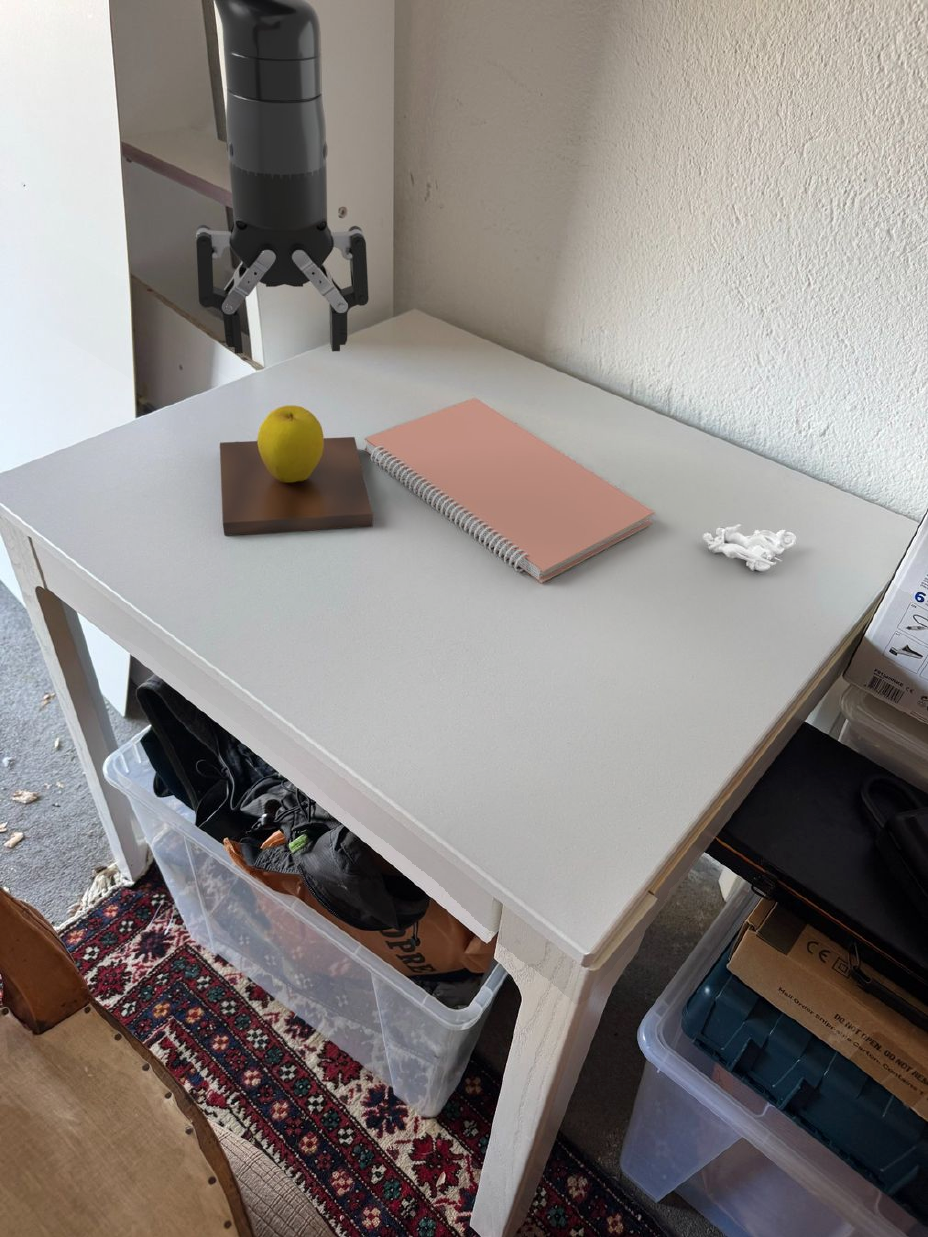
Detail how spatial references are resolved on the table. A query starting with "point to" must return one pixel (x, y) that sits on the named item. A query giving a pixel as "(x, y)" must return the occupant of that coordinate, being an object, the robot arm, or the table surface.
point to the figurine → (751, 545)
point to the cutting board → (293, 491)
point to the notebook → (508, 487)
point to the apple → (290, 443)
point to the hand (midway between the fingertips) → (287, 348)
